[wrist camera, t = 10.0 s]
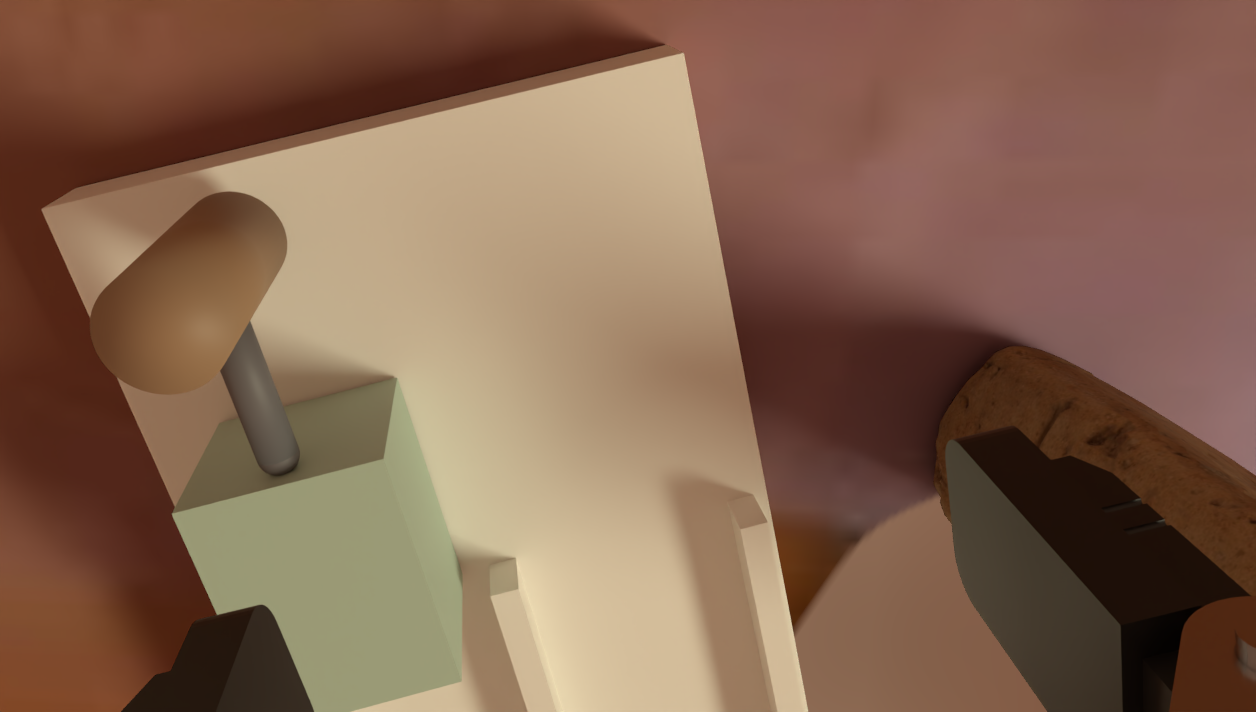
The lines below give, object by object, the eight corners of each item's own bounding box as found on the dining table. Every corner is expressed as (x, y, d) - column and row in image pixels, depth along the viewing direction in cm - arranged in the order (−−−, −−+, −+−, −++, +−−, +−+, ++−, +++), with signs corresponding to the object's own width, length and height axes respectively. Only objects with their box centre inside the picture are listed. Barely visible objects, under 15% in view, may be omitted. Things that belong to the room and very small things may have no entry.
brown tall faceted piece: (884, 465, 42) (1206, 865, 24) (991, 309, 40) (1431, 612, 22) (1079, 561, 45) (1496, 979, 27) (1186, 421, 44) (1713, 767, 25)
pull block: (129, 206, 31) (-2, 305, 23) (324, 158, 32) (269, 237, 23) (299, 617, 37) (248, 821, 29) (462, 573, 38) (460, 763, 29)
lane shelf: (75, 187, 34) (-34, 253, 27) (666, 44, 35) (719, 69, 28) (374, 879, 46) (356, 1055, 39) (805, 758, 47) (867, 907, 40)
